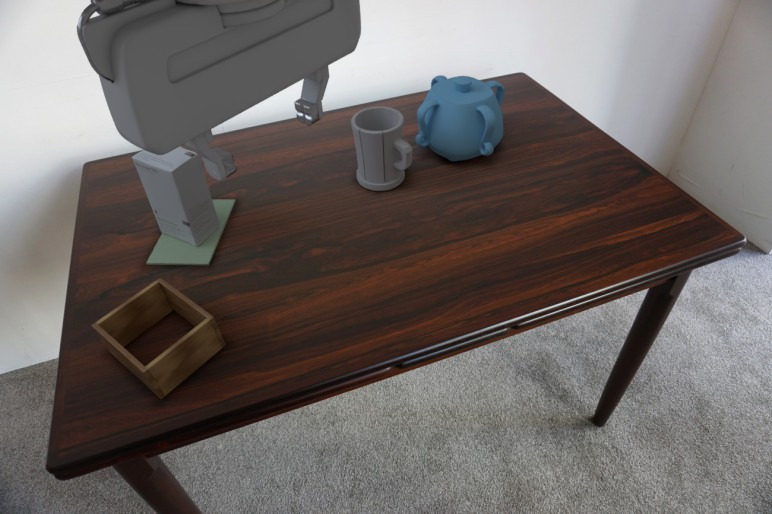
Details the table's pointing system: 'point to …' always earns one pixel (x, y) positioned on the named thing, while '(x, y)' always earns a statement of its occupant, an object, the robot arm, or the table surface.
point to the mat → (185, 253)
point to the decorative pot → (461, 117)
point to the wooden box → (143, 315)
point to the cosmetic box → (178, 194)
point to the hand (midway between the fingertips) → (269, 145)
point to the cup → (380, 148)
